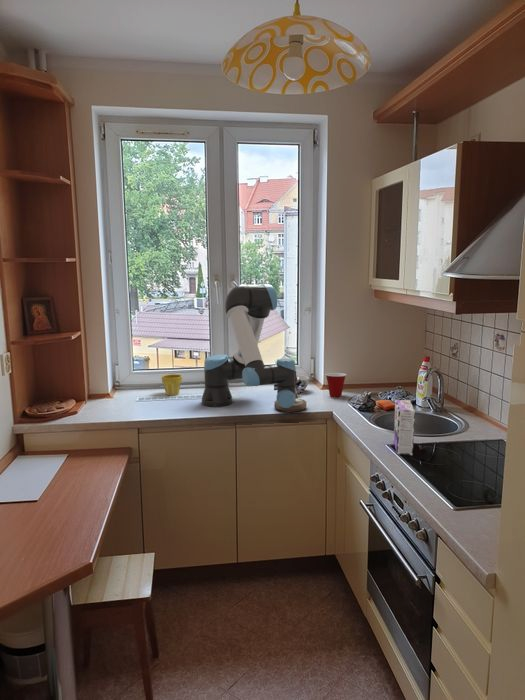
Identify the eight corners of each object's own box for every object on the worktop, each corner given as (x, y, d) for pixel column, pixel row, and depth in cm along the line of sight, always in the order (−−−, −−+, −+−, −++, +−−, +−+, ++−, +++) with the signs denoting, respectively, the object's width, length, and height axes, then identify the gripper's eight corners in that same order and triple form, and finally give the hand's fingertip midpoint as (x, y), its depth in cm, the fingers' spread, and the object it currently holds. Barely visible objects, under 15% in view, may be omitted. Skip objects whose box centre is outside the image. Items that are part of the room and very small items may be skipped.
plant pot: (170, 390, 267) (169, 373, 265) (186, 392, 262) (185, 374, 261) (158, 395, 258) (157, 377, 256) (174, 397, 253) (174, 378, 251)
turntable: (270, 403, 236) (270, 399, 236) (298, 400, 241) (298, 396, 240) (281, 412, 222) (281, 407, 222) (311, 408, 227) (311, 404, 227)
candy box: (393, 441, 187) (394, 399, 184) (409, 441, 186) (411, 399, 183) (396, 454, 174) (397, 409, 171) (413, 455, 173) (415, 410, 170)
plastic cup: (345, 393, 257) (345, 371, 255) (346, 399, 247) (347, 375, 245) (324, 393, 258) (324, 371, 256) (325, 398, 248) (325, 375, 246)
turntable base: (274, 406, 235) (274, 404, 235) (297, 403, 239) (297, 402, 239) (283, 413, 224) (283, 411, 224) (307, 410, 228) (307, 409, 228)
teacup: (313, 391, 263) (314, 376, 262) (299, 395, 254) (299, 380, 253) (291, 386, 273) (291, 372, 272) (277, 391, 264) (277, 376, 262)
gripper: (266, 399, 213) (271, 386, 236) (310, 399, 211) (311, 387, 234) (265, 382, 212) (271, 371, 235) (310, 382, 210) (311, 372, 233)
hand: (291, 379), depth 234 cm, fingers closed on condiment, 6 cm apart
